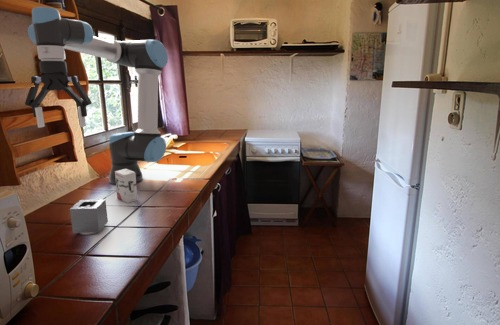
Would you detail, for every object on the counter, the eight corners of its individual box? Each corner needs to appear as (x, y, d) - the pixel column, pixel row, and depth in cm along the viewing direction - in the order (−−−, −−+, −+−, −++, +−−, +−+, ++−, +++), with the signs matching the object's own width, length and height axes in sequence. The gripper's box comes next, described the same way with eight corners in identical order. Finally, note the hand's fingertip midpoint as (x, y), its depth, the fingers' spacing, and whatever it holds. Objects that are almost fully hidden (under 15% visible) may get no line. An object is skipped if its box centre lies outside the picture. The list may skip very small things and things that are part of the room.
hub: (78, 228, 111) (74, 204, 109) (101, 224, 115) (98, 200, 113) (80, 237, 106) (77, 211, 103) (104, 231, 109) (101, 207, 107)
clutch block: (83, 222, 114) (80, 200, 112) (107, 221, 114) (105, 199, 112) (72, 233, 106) (69, 209, 104) (99, 232, 107) (96, 208, 105)
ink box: (116, 198, 140) (113, 170, 137) (127, 195, 143) (125, 168, 140) (127, 203, 134) (124, 174, 131) (138, 200, 138) (135, 172, 135)
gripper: (4, 60, 104) (17, 129, 109) (87, 59, 105) (95, 128, 110) (19, 61, 111) (30, 125, 117) (97, 60, 112) (104, 124, 118)
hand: (62, 126), depth 113 cm, fingers open, 13 cm apart
